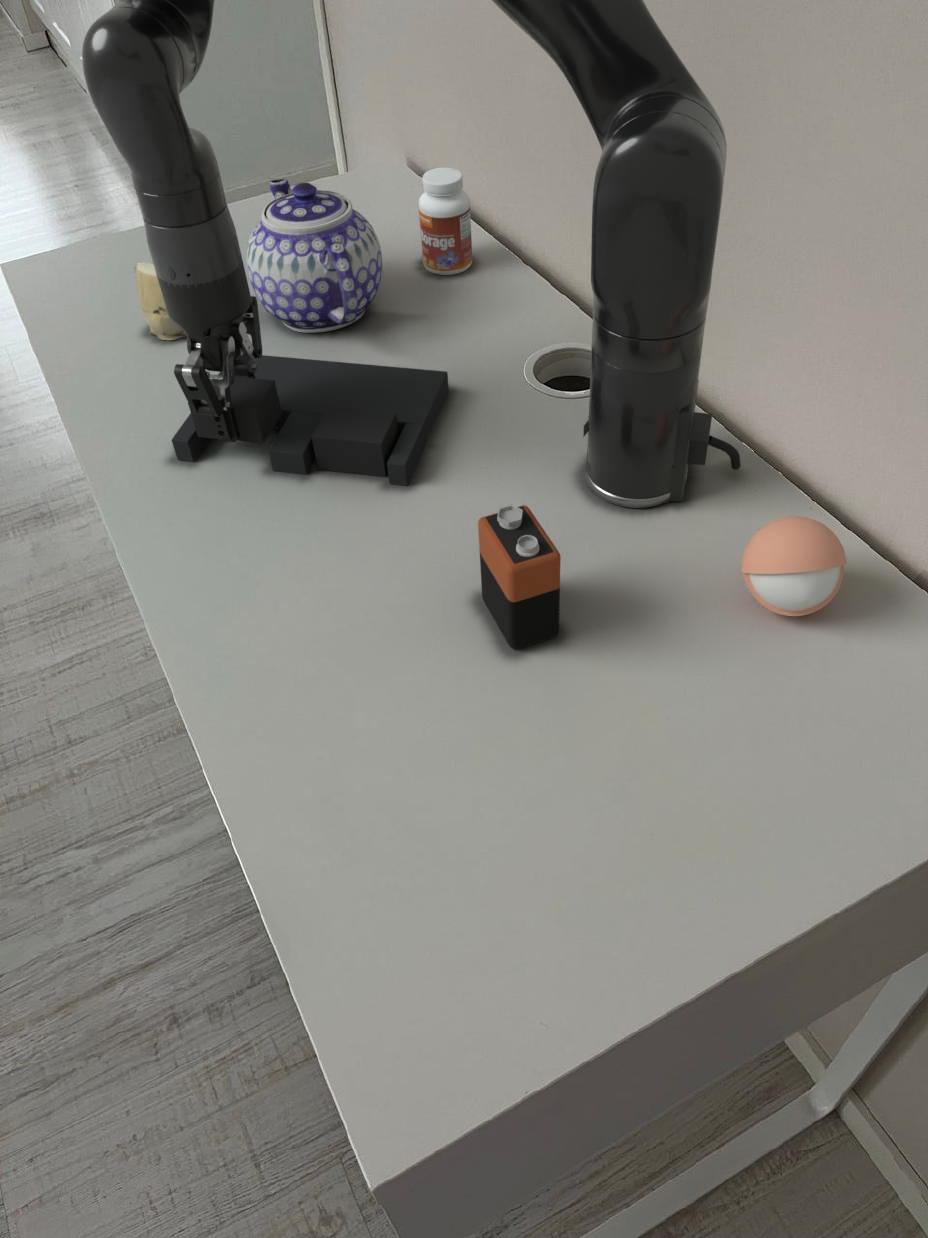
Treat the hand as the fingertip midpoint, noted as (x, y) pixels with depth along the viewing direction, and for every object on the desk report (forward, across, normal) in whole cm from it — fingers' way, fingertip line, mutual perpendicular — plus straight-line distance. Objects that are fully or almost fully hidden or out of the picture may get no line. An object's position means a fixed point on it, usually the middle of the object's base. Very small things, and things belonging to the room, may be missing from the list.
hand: (240, 421), depth 101 cm
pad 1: (0, 0, 0) cm, 0 cm away
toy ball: (+3, -12, -53) cm, 54 cm away
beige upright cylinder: (+3, +20, +17) cm, 26 cm away
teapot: (+3, +27, +1) cm, 27 cm away
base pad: (+3, +5, -6) cm, 8 cm away
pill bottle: (+3, +40, -11) cm, 41 cm away
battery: (+3, -18, -32) cm, 37 cm away
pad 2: (+3, 0, -12) cm, 12 cm away
